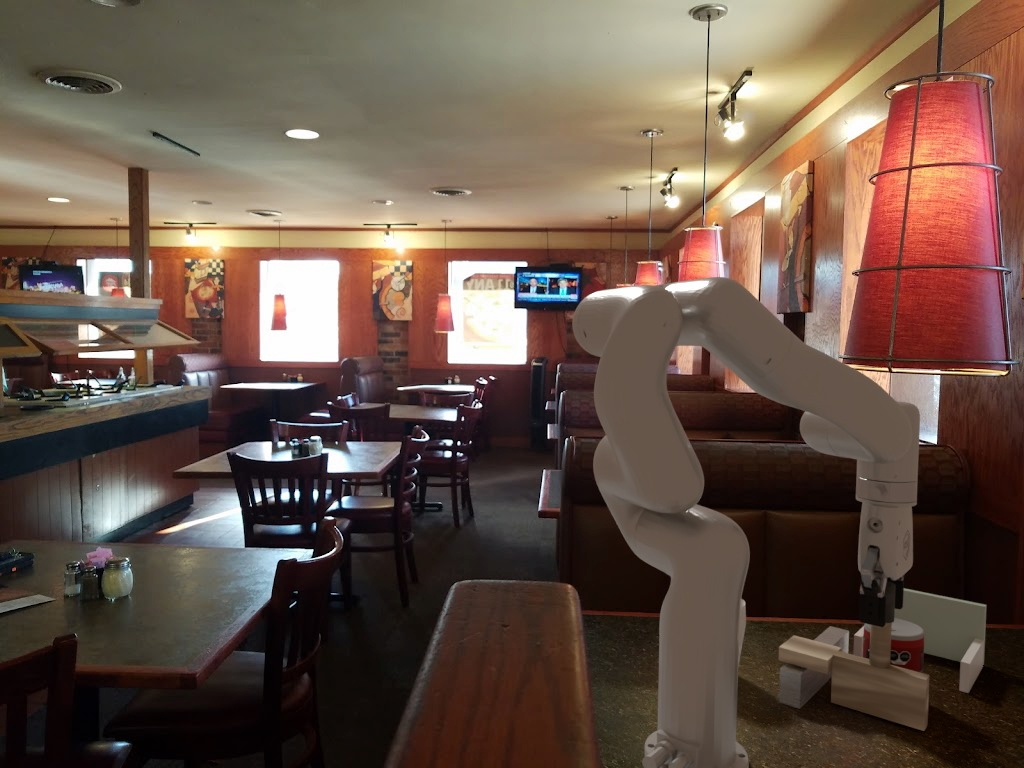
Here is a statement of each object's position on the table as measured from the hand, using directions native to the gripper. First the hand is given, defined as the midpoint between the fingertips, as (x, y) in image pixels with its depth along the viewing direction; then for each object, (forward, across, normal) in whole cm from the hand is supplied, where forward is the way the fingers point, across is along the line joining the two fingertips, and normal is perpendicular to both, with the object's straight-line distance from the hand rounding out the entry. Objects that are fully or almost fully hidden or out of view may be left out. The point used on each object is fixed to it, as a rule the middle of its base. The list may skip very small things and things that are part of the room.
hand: (881, 614), depth 103 cm
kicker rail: (+15, +6, +10) cm, 19 cm away
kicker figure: (+14, 0, +3) cm, 14 cm away
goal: (+15, +23, 0) cm, 27 cm away
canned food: (+15, +7, 0) cm, 16 cm away
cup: (+15, -3, +23) cm, 27 cm away
